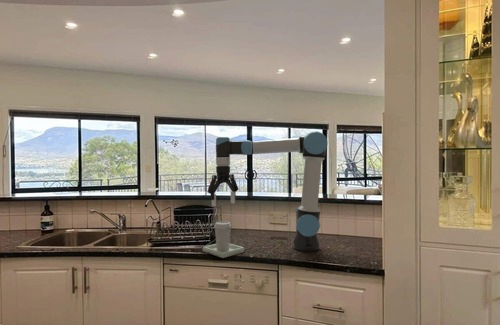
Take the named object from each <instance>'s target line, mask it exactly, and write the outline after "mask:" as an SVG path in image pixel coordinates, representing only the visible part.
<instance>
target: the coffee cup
mask: <svg viewBox="0 0 500 325" xmlns="http://www.w3.org/2000/svg"><path fill="white" fill-rule="evenodd" d="M232 227H233V226H232V224H231V222H230V221H216V222H215V224H214V225H213V228H214V232H215V244H216V245H217V251H220V252H227V251H229V243H230V240H231V230H232V229H231V228H232Z"/></svg>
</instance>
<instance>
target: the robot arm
mask: <svg viewBox="0 0 500 325" xmlns="http://www.w3.org/2000/svg"><path fill="white" fill-rule="evenodd" d="M327 149H328V139H327V137H326V135H324V133H322V132H320V131H311V132H309V133H307V134H306V135H302V136H301V135H300V136H297V138H285V139H284V138H282V139H269V140H265V139H264V140H254V141H253V140H252V141H251V140H246V139H244V140H231V139H230V137H228V136H218V137H217V138H215V165H216V167H215V172H216V174H212V176H211V179H210V184H209V185H208V189H207V190H206V191H207V192H206V193H207V194H210V200H211V207H217V194H216V192H217V190H218V188H219V187H220V185H222V184H224V183H226V184H227V187H228V188H229V189H230V204H236V195H237V194H236V192H238V191H239V186H238V184H237V182H236V178H235V174H234V173H231V166H230V165H231V155H232V156H233V155H235V156H237V155H239V156H240V155H241V156H247V155H262V154H279V153H282V154H283V153H299V154H302V158H303V159H304V169H303V178H302V179H303V181H302V189H301V190H302V191H301V201H300V202H301V204H300V205H299V207H296V210H295V232H296V233H295V236H294V238H293V242H292V248H293V249H295V250H297V251H302V252H315V251H318V250H320V249H321V244H320V241H319V236H318V232H319V230H320V227H321V224H320V223H321V222H320V216H321V210H320V208H319V206H318V205H319V194H320V183H321V173H322V172H321V171H322V165H323V164H322V162H323V161H324V160H326V150H327Z"/></svg>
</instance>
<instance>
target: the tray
mask: <svg viewBox="0 0 500 325" xmlns="http://www.w3.org/2000/svg"><path fill="white" fill-rule="evenodd" d="M202 252H203V253H205V254H209V255H212V256H216V257H219V258H221V259H225V258H228V257H232V256H234V255H235V256H236V255H239V254H241V253H244V252H245V247H243V246H241V245H237V244H233V243H230V242H229V251H227V252H220V251H217V245H216V243H214V244H209V245H206V246H202Z"/></svg>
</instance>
